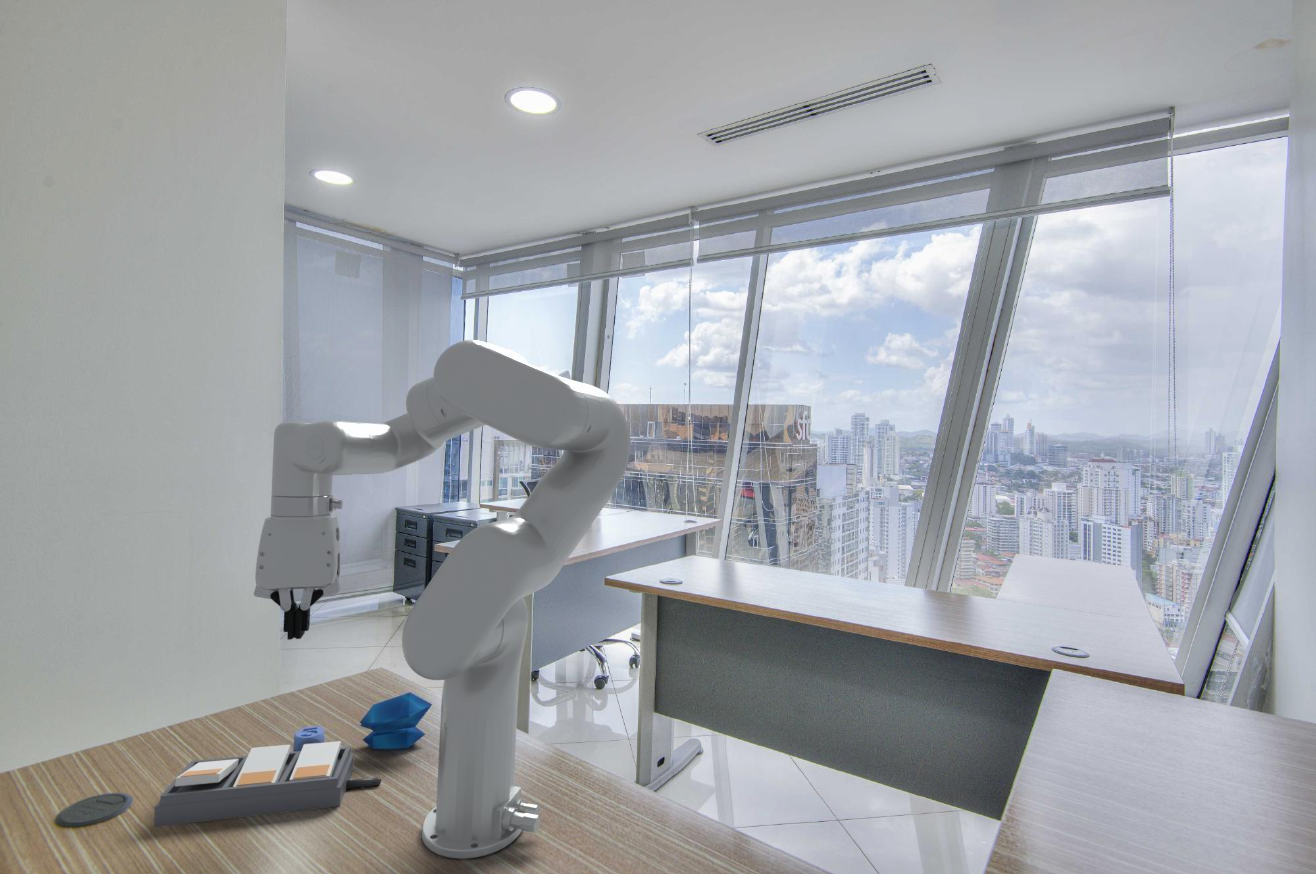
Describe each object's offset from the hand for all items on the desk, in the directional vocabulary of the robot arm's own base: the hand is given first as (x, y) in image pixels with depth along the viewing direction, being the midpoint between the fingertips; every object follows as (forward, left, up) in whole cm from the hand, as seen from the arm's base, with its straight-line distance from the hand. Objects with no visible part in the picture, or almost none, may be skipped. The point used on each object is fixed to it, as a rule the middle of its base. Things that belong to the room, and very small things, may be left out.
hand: (296, 636), depth 88 cm
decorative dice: (+3, -7, -21) cm, 22 cm away
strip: (-1, +3, -21) cm, 21 cm away
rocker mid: (+1, +4, -17) cm, 18 cm away
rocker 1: (+6, +7, -17) cm, 20 cm away
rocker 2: (-5, +1, -17) cm, 18 cm away
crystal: (-7, -14, -21) cm, 26 cm away
